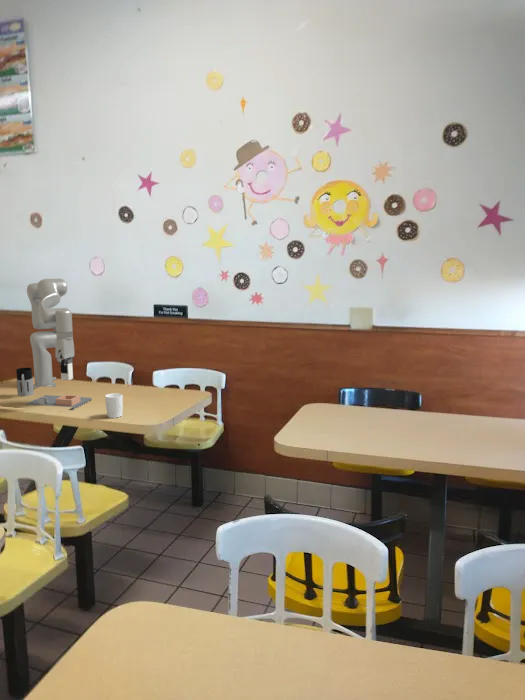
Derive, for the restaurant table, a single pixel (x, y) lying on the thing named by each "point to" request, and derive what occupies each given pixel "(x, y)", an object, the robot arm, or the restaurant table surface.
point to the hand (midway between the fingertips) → (66, 371)
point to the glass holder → (24, 382)
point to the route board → (61, 401)
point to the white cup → (114, 405)
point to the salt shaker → (68, 370)
